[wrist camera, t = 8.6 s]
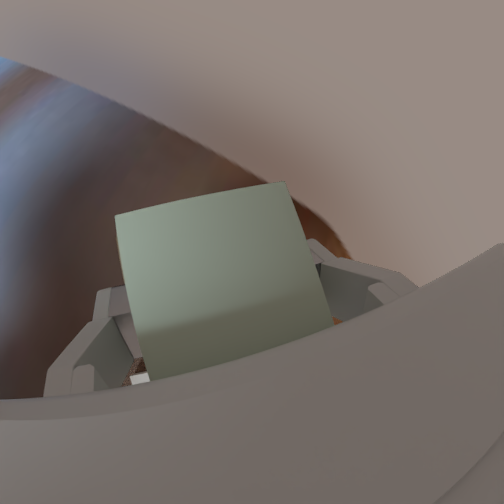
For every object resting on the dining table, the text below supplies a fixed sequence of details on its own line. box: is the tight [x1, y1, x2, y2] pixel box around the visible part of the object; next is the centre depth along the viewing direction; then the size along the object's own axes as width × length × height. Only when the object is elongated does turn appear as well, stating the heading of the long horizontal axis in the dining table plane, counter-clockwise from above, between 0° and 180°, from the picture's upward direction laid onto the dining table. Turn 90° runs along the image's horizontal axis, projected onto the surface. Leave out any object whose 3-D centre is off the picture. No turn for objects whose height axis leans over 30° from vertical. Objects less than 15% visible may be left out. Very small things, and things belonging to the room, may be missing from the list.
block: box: [115, 181, 334, 381], centre depth 10 cm, size 4×4×8 cm
